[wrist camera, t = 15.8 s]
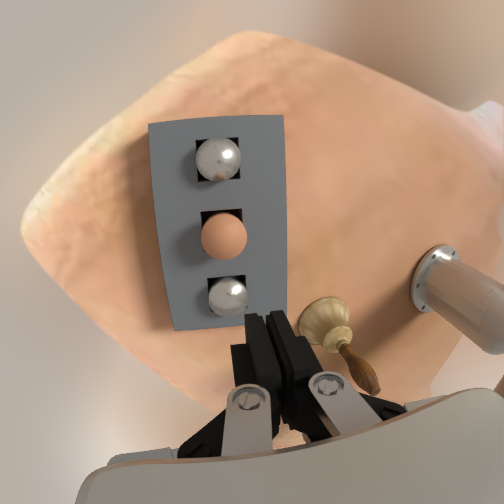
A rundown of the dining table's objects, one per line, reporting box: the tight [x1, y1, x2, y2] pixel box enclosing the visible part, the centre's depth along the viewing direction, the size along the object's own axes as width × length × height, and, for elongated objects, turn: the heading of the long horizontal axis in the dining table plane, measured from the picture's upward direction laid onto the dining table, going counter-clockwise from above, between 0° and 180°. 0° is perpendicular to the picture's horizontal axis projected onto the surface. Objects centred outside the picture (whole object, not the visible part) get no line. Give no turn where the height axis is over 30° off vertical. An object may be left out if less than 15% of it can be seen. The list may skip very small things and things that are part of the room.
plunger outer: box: [196, 137, 241, 182], centre depth 29 cm, size 4×4×5 cm
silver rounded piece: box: [209, 275, 249, 317], centre depth 33 cm, size 4×4×5 cm
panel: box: [148, 115, 287, 331], centre depth 32 cm, size 14×24×4 cm, turn 3°
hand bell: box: [298, 297, 381, 396], centre depth 33 cm, size 8×8×16 cm
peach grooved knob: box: [201, 211, 247, 260], centre depth 29 cm, size 4×4×5 cm
